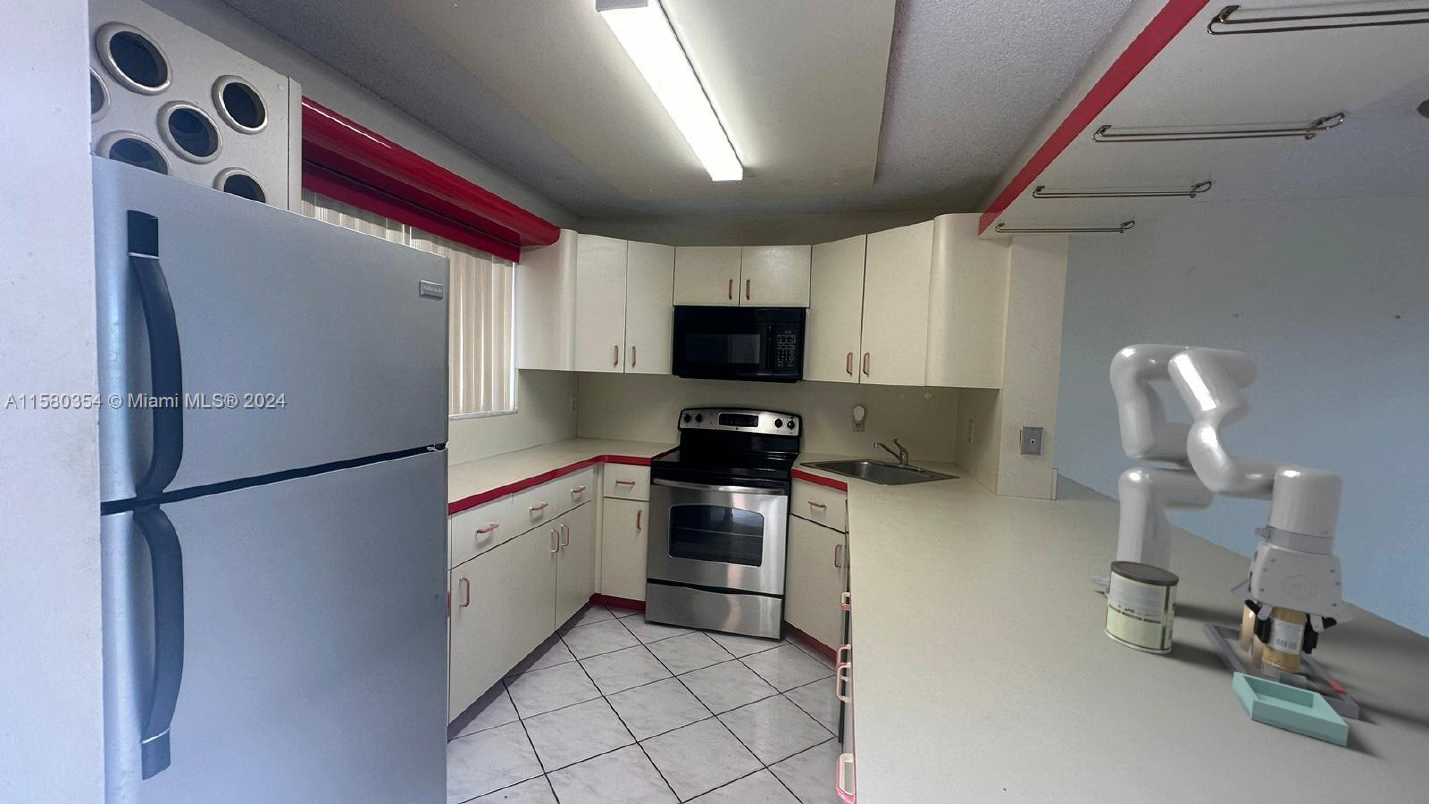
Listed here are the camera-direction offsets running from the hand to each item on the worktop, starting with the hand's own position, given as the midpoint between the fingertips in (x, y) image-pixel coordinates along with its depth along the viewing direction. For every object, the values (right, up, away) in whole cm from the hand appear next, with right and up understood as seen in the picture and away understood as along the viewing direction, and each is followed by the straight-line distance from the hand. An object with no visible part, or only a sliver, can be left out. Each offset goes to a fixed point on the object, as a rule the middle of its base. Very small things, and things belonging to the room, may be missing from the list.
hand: (1283, 644), depth 89 cm
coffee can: (-14, -6, +13) cm, 20 cm away
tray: (-9, -7, -9) cm, 15 cm away
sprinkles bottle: (0, -4, 0) cm, 4 cm away
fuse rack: (+3, -7, +5) cm, 9 cm away
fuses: (+5, -7, +9) cm, 12 cm away
